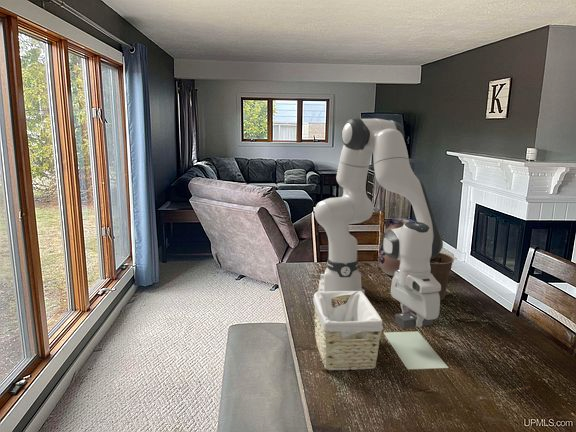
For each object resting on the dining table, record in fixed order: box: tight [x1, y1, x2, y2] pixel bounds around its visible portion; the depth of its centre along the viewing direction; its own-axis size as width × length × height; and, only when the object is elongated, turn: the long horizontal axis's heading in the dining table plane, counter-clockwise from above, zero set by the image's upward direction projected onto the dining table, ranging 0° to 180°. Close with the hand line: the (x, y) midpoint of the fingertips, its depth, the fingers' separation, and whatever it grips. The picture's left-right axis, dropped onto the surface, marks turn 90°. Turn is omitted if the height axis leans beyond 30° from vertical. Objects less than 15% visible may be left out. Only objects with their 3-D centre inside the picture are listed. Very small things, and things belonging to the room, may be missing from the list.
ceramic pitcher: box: [377, 217, 415, 277], centre depth 196 cm, size 18×21×25 cm
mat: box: [383, 331, 449, 370], centre depth 129 cm, size 22×12×1 cm, turn 5°
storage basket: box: [312, 291, 384, 371], centre depth 127 cm, size 24×16×15 cm
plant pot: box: [430, 252, 455, 302], centre depth 170 cm, size 16×16×16 cm
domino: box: [394, 312, 434, 330], centre depth 130 cm, size 5×3×10 cm
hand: (411, 321), depth 130 cm, fingers closed on domino, 5 cm apart
